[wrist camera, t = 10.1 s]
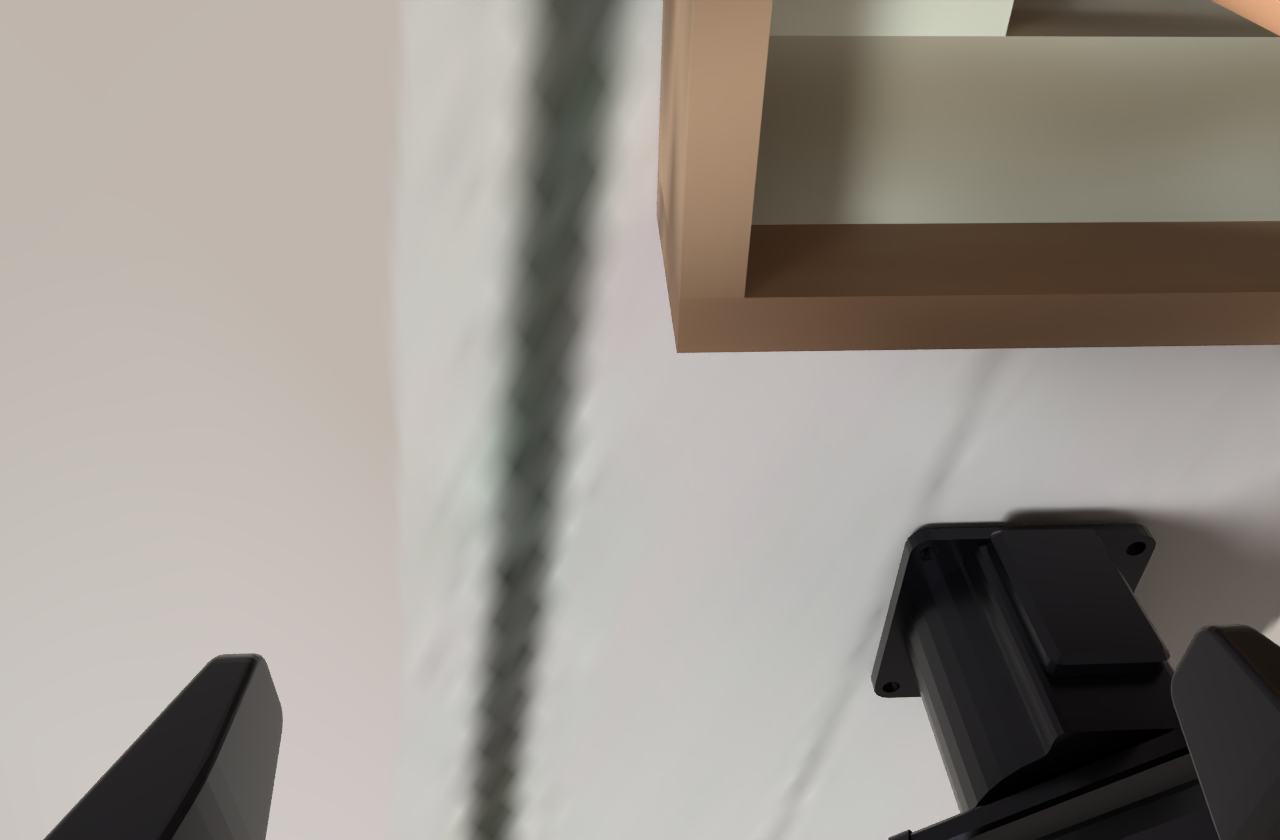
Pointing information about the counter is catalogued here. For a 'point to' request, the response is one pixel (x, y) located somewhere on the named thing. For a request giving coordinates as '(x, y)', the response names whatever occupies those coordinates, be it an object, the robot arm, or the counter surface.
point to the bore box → (968, 174)
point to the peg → (1256, 12)
